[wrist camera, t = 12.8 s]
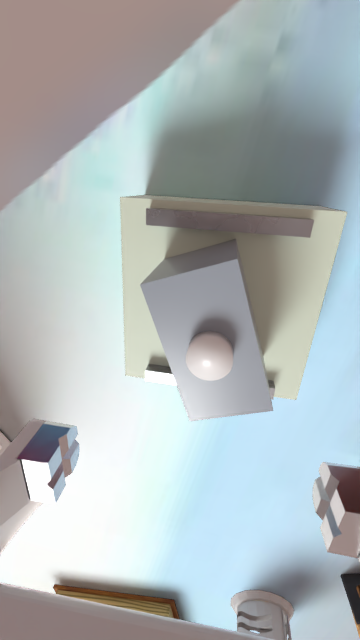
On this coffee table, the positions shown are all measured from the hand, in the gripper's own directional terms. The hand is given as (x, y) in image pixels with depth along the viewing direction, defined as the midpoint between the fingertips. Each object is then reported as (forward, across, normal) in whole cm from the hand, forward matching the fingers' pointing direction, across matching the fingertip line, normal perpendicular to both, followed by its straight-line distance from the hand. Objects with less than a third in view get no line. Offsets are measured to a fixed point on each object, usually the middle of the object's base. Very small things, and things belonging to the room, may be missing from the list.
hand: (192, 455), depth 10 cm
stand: (+19, -1, 0) cm, 19 cm away
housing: (+13, 0, 0) cm, 13 cm away
